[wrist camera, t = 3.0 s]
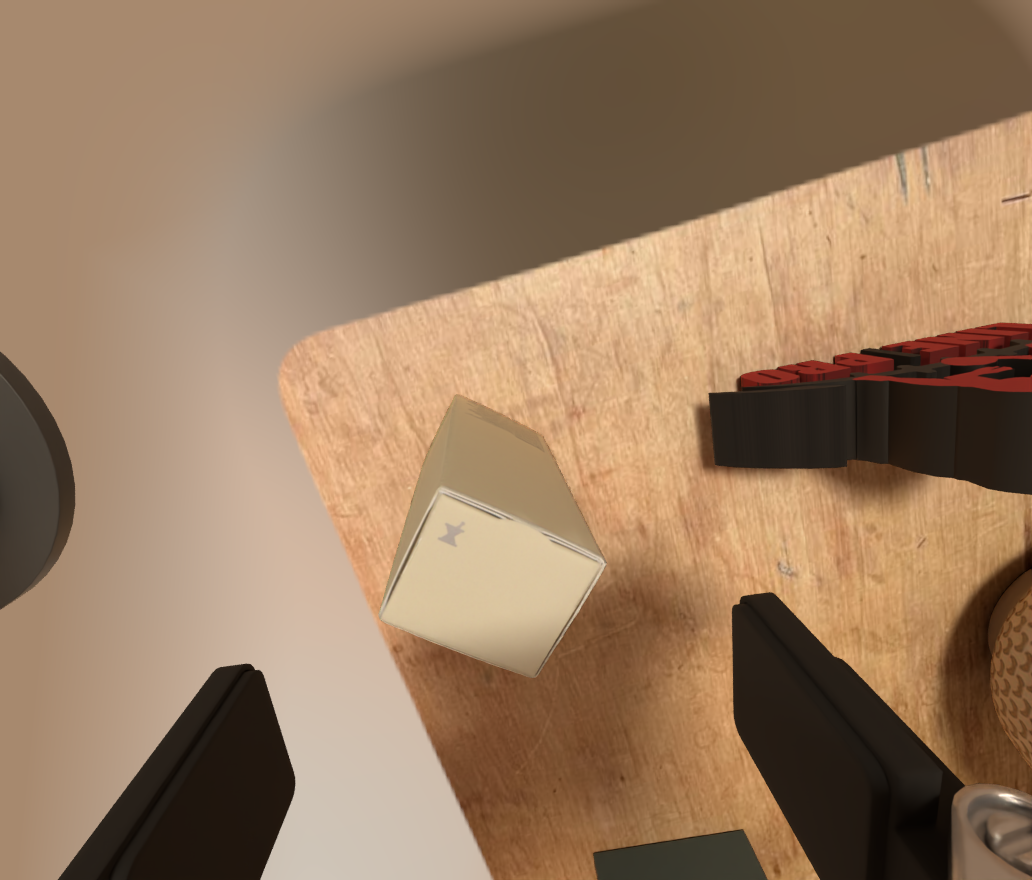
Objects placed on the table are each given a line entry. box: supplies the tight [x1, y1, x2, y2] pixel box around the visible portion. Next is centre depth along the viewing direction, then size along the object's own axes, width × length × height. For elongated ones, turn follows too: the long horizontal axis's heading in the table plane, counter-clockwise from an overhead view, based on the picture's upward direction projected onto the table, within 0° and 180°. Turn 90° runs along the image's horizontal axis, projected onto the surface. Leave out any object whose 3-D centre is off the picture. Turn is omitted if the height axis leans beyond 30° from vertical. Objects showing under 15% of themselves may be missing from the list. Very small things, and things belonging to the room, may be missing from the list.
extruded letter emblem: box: [709, 323, 1032, 495], centre depth 21 cm, size 18×4×11 cm, turn 101°
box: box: [379, 394, 607, 678], centre depth 20 cm, size 5×4×13 cm
